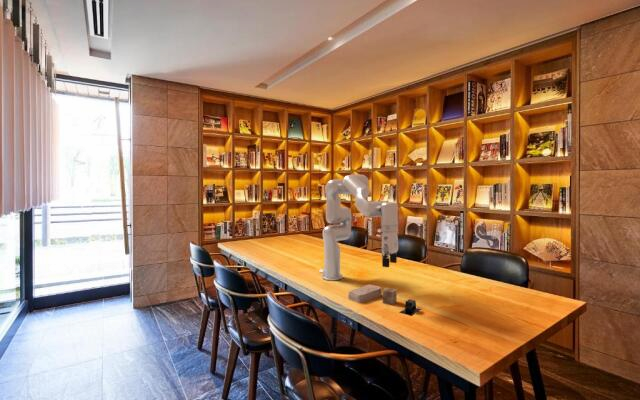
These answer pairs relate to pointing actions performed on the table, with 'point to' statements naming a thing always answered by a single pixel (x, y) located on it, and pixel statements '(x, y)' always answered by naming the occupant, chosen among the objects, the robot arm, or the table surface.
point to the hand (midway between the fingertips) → (389, 264)
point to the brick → (365, 293)
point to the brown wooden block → (389, 296)
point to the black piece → (410, 308)
